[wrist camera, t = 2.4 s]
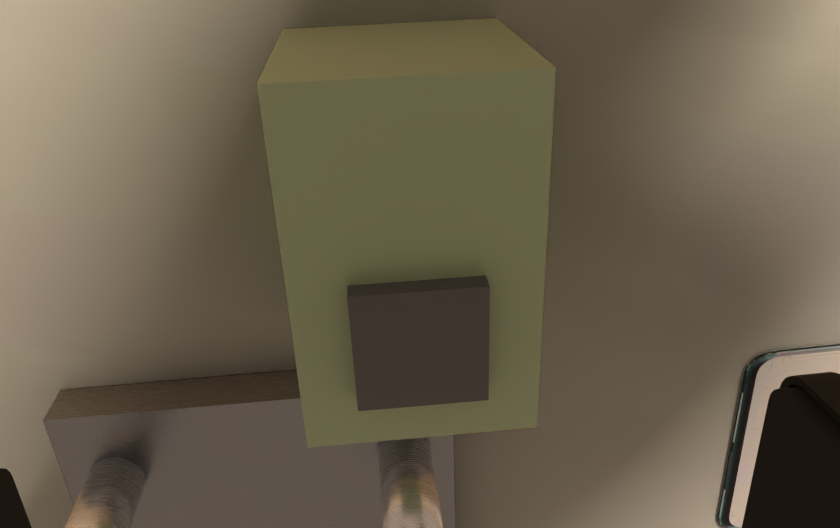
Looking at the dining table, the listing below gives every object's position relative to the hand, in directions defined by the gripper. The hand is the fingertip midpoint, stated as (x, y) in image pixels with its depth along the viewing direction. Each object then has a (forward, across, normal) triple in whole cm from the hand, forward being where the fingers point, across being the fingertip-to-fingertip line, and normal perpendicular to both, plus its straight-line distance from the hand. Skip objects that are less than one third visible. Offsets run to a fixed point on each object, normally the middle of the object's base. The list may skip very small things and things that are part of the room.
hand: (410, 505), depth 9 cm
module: (+9, -1, -1) cm, 9 cm away
